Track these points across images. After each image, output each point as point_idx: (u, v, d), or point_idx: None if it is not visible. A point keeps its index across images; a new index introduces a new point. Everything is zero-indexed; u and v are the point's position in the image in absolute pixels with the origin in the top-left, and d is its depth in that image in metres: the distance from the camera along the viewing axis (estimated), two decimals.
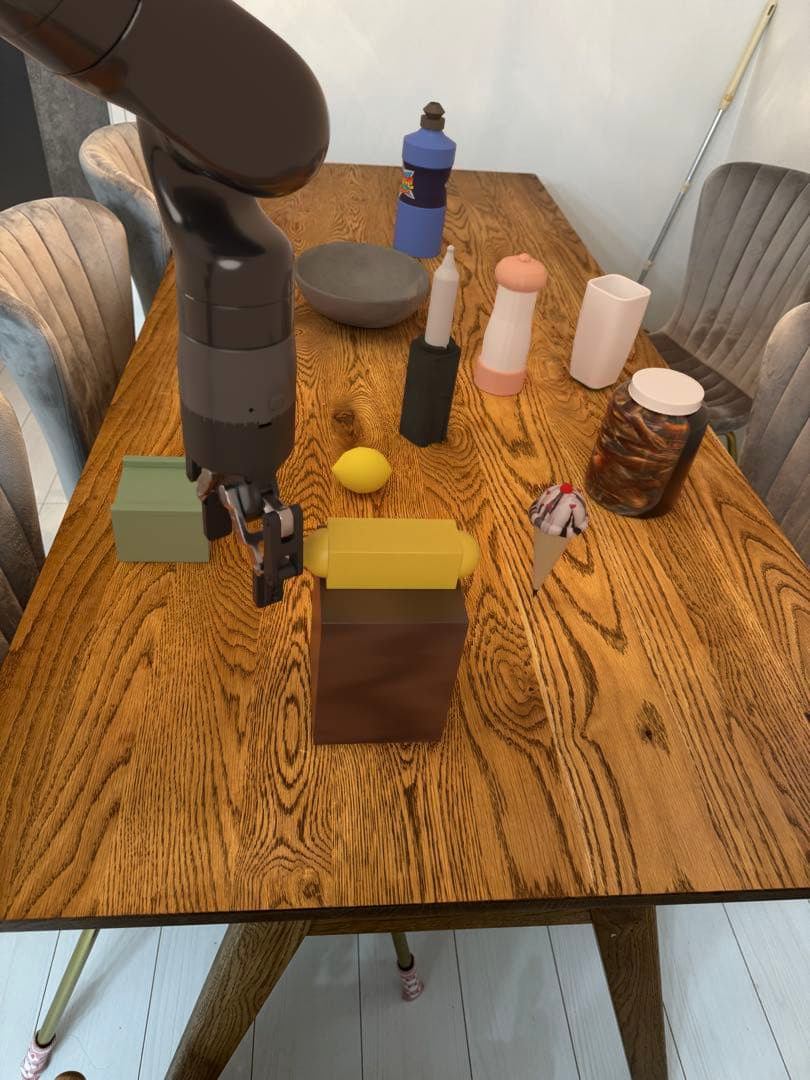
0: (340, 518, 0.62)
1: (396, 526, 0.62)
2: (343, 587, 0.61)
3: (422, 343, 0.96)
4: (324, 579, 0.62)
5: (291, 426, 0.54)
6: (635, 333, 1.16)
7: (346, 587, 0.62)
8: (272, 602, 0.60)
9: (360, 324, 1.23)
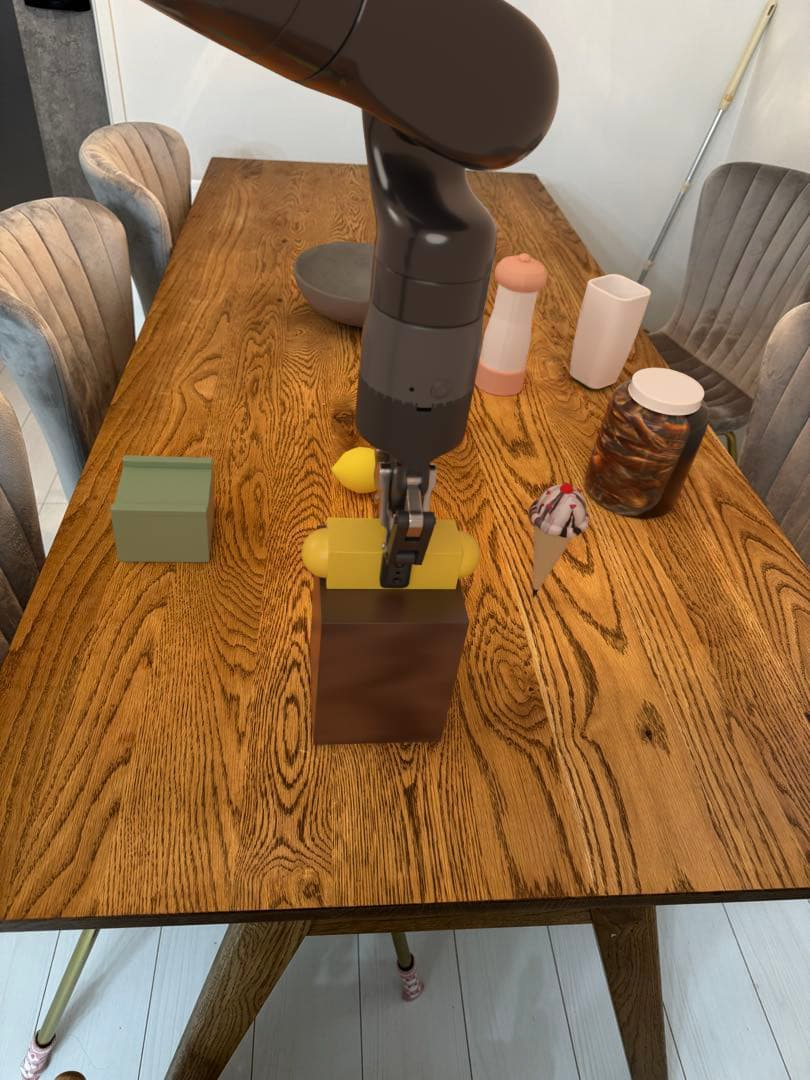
0: (340, 518, 0.62)
1: None
2: (343, 587, 0.61)
3: None
4: (324, 579, 0.62)
5: (456, 420, 0.52)
6: (635, 333, 1.16)
7: (346, 587, 0.62)
8: (394, 585, 0.60)
9: (360, 324, 1.23)
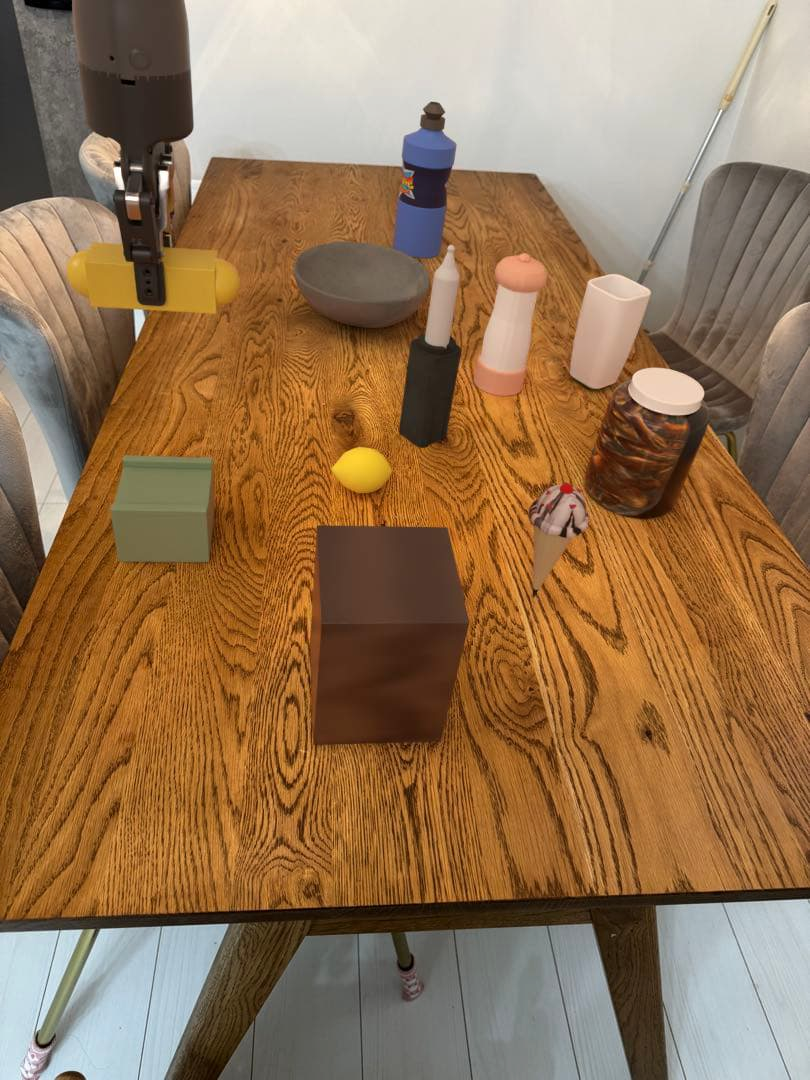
0: (105, 243, 0.67)
1: None
2: (106, 305, 0.66)
3: (422, 343, 0.96)
4: (324, 579, 0.62)
5: (167, 102, 0.56)
6: (635, 333, 1.16)
7: (109, 306, 0.66)
8: (148, 298, 0.65)
9: (360, 324, 1.23)
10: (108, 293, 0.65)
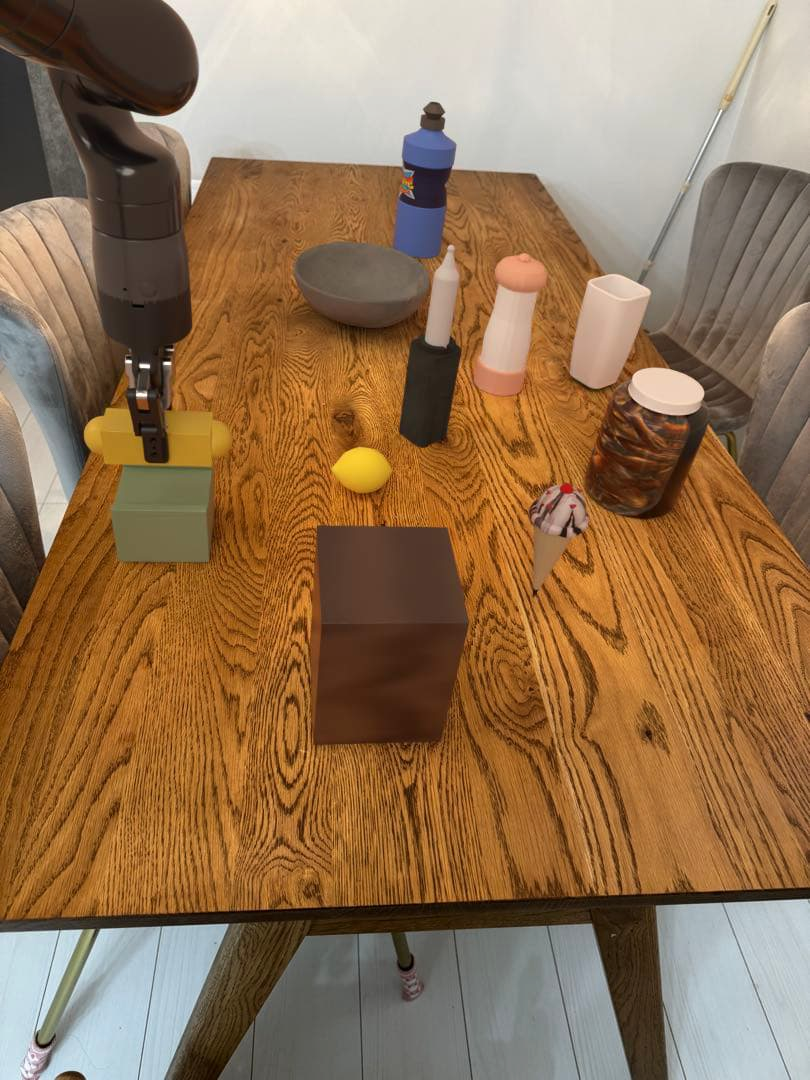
0: (117, 409, 0.78)
1: None
2: (118, 463, 0.77)
3: (422, 343, 0.96)
4: (324, 579, 0.62)
5: (170, 317, 0.67)
6: (635, 333, 1.16)
7: (120, 463, 0.77)
8: (153, 459, 0.76)
9: (360, 324, 1.23)
10: (119, 453, 0.77)
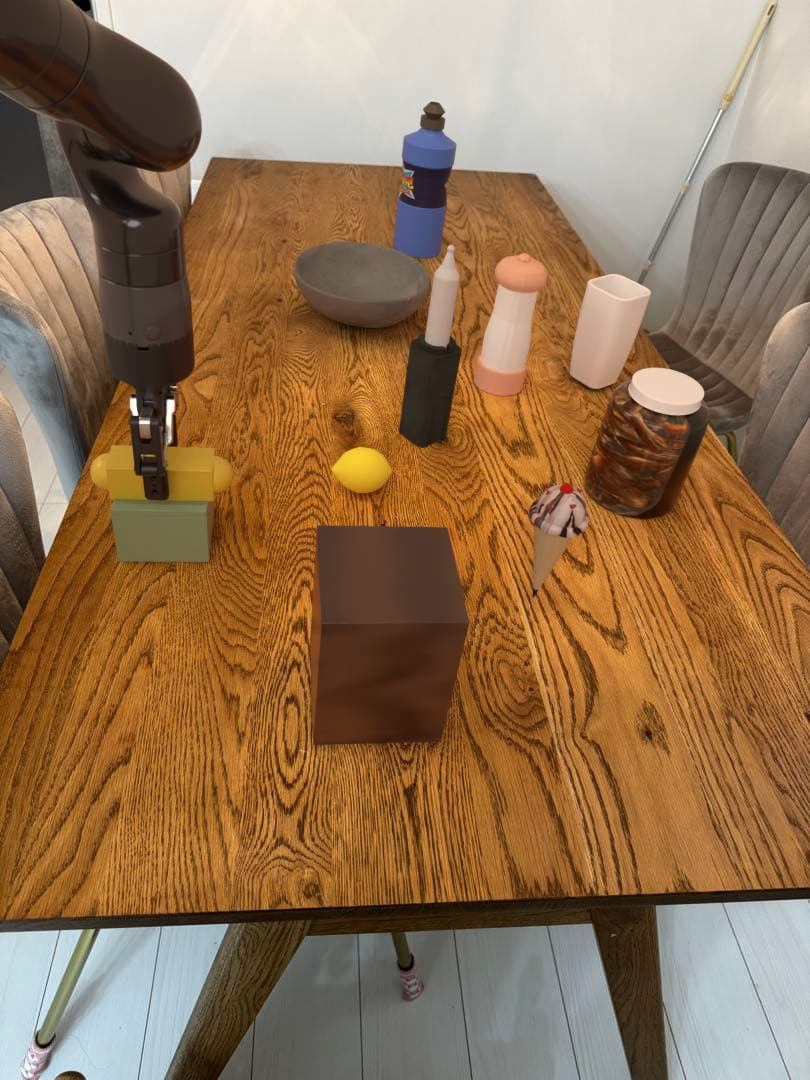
0: (122, 445, 0.81)
1: None
2: (123, 498, 0.80)
3: (422, 343, 0.96)
4: (324, 579, 0.62)
5: (174, 358, 0.70)
6: (635, 333, 1.16)
7: (125, 498, 0.80)
8: (154, 496, 0.76)
9: (360, 324, 1.23)
10: (125, 489, 0.80)
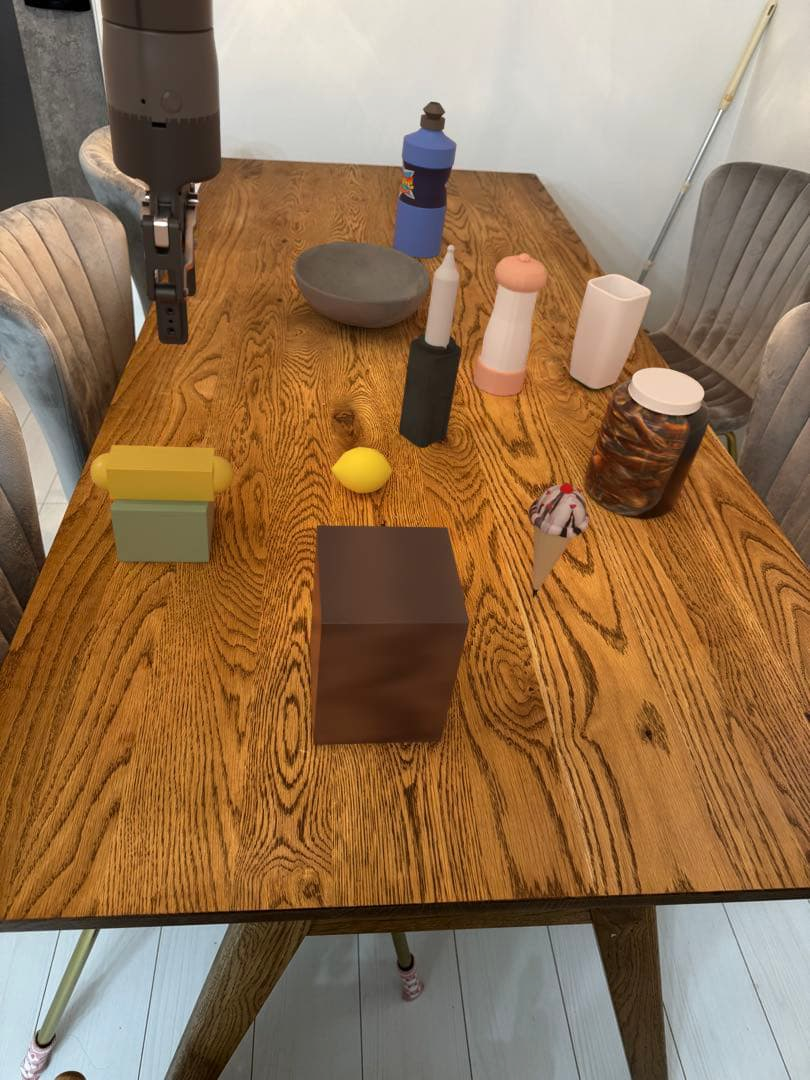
0: (122, 445, 0.81)
1: (165, 452, 0.81)
2: (123, 498, 0.80)
3: (422, 343, 0.96)
4: (324, 579, 0.62)
5: (197, 144, 0.56)
6: (635, 333, 1.16)
7: (125, 498, 0.80)
8: (170, 337, 0.62)
9: (360, 324, 1.23)
10: (125, 489, 0.80)
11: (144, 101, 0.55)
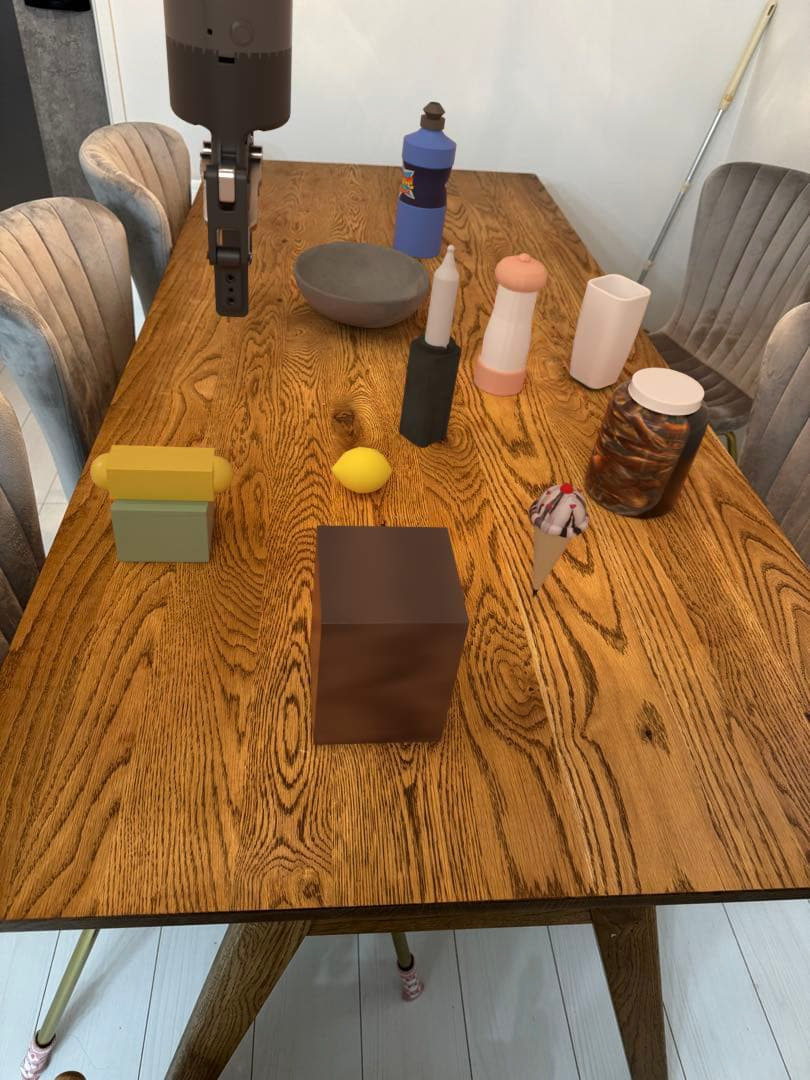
0: (122, 445, 0.81)
1: (165, 452, 0.81)
2: (123, 498, 0.80)
3: (422, 343, 0.96)
4: (324, 579, 0.62)
5: (268, 84, 0.49)
6: (635, 333, 1.16)
7: (125, 498, 0.80)
8: (229, 308, 0.55)
9: (360, 324, 1.23)
10: (125, 489, 0.80)
11: None
